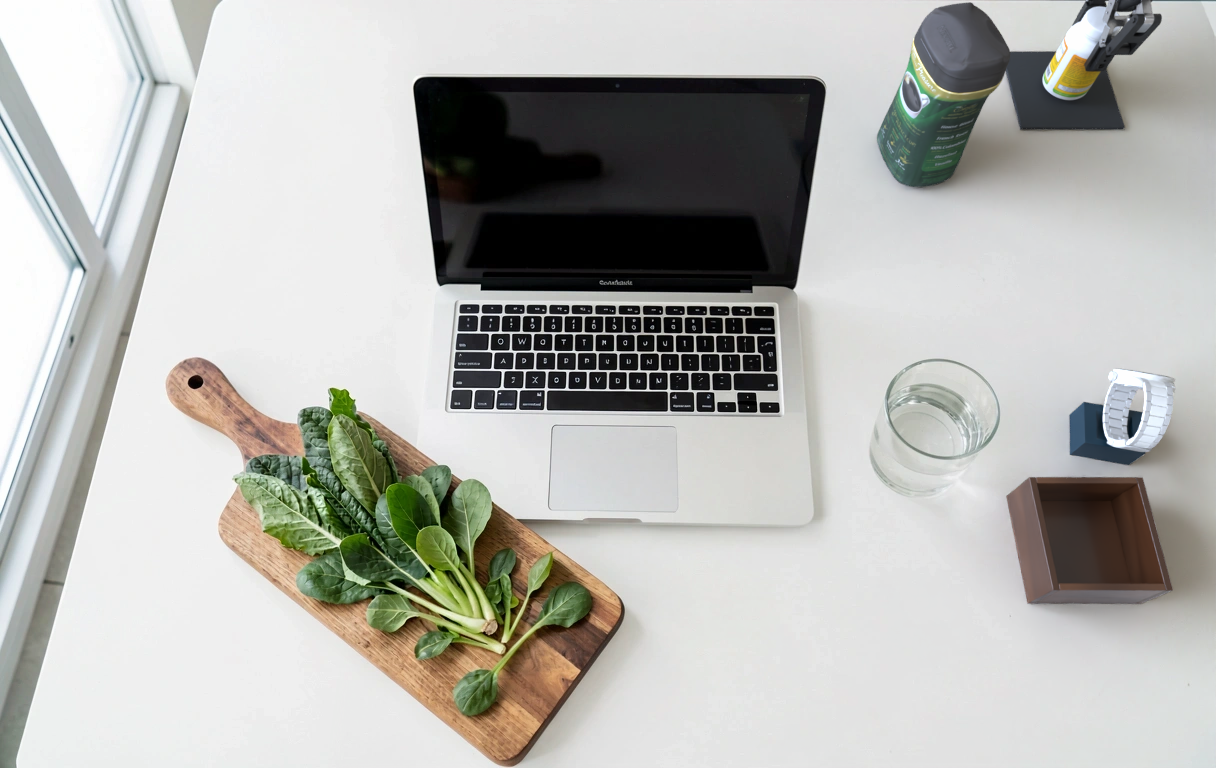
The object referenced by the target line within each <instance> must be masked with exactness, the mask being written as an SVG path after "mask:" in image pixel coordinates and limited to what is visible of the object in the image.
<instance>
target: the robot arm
mask: <svg viewBox="0 0 1216 768" xmlns="http://www.w3.org/2000/svg"><path fill="white" fill-rule="evenodd" d="M1153 1H1154V0H1084V3H1083V5H1082V7H1081V9H1080V10H1079V12H1078V13H1077V15H1076V17H1075V20H1074V21H1073V23H1072V24H1071V27H1072V26H1073V25H1074V24H1076V23H1078V22H1080V21H1081V20H1082V19H1083V17H1084V15H1085V14H1086V12H1087V11H1088V10H1089V9H1091V8H1093V7H1107V8H1106V11H1105V13H1104V16H1103V22H1104V23H1105V27H1104V30H1103V32H1102V35H1101V38H1100V41H1098V43H1097V44H1096V46H1095V47H1094V49H1093V51H1092V52H1091V54H1090V56H1089V57H1088V59H1087V60H1086V62H1085V64H1084V67H1085V70H1086V71H1088V72H1099V71H1104V70H1105V69H1107V68H1109V66H1110V64H1111V63H1112V61H1113V59H1114V58H1115V57H1116V56H1132V55H1133V54H1135V52H1136V51H1137V50H1138V49H1139V48H1140V47H1141V46H1142V45H1143V44H1144V43H1145V42H1146V40H1147V39H1148V38H1149V37H1150V36H1151V35H1152V34H1153V33H1154V32H1155V30H1156V29H1157V28H1158V27H1159V26H1160V25H1161V24H1162V21H1163V20H1162V19H1163V16H1162V14H1161V13H1153V7H1152V2H1153ZM1116 12H1117V13H1130V14H1127V15H1120V16H1115V13H1116ZM1115 27H1121V29H1120V30H1119V32H1118V34H1117V35H1112V33H1113V31H1114V28H1115Z"/></svg>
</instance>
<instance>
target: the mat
mask: <svg viewBox="0 0 1216 768" xmlns="http://www.w3.org/2000/svg"><path fill="white" fill-rule="evenodd" d="M1056 51H1057V50H1056ZM1056 51H1051V50H1050V51H1045V50H1044V51H1043V50H1042V51H1040V50H1039V51H1037V50H1036V51H1035V50H1034V51H1031V50H1030V51H1026V50H1025V51H1023V50H1022V51H1019V50H1018V51H1016V50H1015V51H1010V60H1009V63H1008V65H1007V68H1006V71H1005V75H1006V77H1007V78H1006V79H1007V81H1008V86H1009V90H1010V94H1011V99H1012V102H1013V106H1014V110H1015V113H1016V117H1017V122H1018V125H1019V126H1018V127H1019V130H1020V131H1021V130H1024V131H1025V130H1027V131H1029V130H1030V131H1031V130H1032V131H1033V130H1034V131H1035V130H1036V131H1037V130H1038V131H1039V130H1040V131H1041V130H1044V131H1045V130H1051V131H1052V130H1053V131H1054V130H1064V131H1065V130H1067V131H1068V130H1078V131H1079V130H1085V131H1087V130H1088V131H1089V130H1094V131H1095V130H1098V131H1099V130H1100V131H1101V130H1102V131H1103V130H1124V129H1125V127H1126V126H1125V123H1124V120H1123V117H1122V114H1121V111H1120V107H1119V105H1118V101H1117V98H1116V95H1115V91H1114V88H1113V85H1112V82H1111V79H1110V76H1109V73H1108V70H1107V68H1106V69H1105V70H1104V71H1101V72H1100V73H1099V75H1098V76H1097V78H1096V80H1095V81H1094V83H1093V84H1092V86H1091V87H1090V89H1089V90H1088V92H1087V93H1086V94H1085V95H1084V96H1083V97H1081V98H1079V99H1075V100H1064V99H1060V98H1057V97H1055V96H1053V95H1052V94H1050V93H1049V92H1048V91H1047V90H1046V89H1045V87H1044V85H1043V75H1044V73H1045V71H1046V69H1047V67H1048V65H1049V63H1050V62H1051V60H1052V58H1053V57H1054V55H1055V53H1056Z"/></svg>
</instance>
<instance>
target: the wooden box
mask: <svg viewBox="0 0 1216 768" xmlns="http://www.w3.org/2000/svg"><path fill="white" fill-rule="evenodd" d="M1006 502H1007V506H1008V512H1009V517H1010V522H1011V527H1012V531H1013V538H1014V542H1015V549H1016V552H1017V553H1016V554H1017V557H1018V563H1019V569H1020V573H1021V576H1022V583H1023V587H1024V592H1025V598H1026V603H1027V604H1029V605H1030V604H1031V605H1033V604H1034V605H1040V604H1041V605H1141V604H1143V603H1144V604H1145V603H1146V602H1149V601H1151V600H1153V599H1156V598H1158V597H1160V596H1163V595H1165V594H1168V593H1170V592H1173V591H1174V587H1173V585H1172V581H1171V577H1170V573H1169V570H1168V566H1167V562H1166V559H1165V555H1164V552H1163V547H1162V544H1161V540H1160V536H1159V532H1158V529H1157V526H1156V522H1155V518H1154V515H1153V514H1154V513H1153V509H1152V507H1151V503H1150V499H1149V496H1148V492H1147V489H1146V484H1145V480H1144V478H1143V477H1141V476H1140V477H1139V476H1136V477H1135V476H1129V477H1128V476H1127V477H1126V476H1125V477H1124V476H1117V477H1116V476H1113V477H1112V476H1097V477H1096V476H1095V477H1094V476H1038V477H1037V476H1036V477H1035V476H1029V477H1028V478H1026V479H1025V480H1024V481H1023V482H1022V483H1020V484H1019V485H1018V486H1017V487H1015V488H1014V489H1013V490H1011V492H1010V493H1008V494H1007V495H1006Z"/></svg>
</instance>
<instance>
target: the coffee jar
mask: <svg viewBox="0 0 1216 768" xmlns="http://www.w3.org/2000/svg"><path fill="white" fill-rule="evenodd" d="M1010 52H1011V51H1010V48H1009V45H1008V44H1007V42H1006V40H1005V38H1004V36H1003V35H1002V33H1001V32H1000V30H999V29H998V26H997V25H996V23H994V21H993V20H992V18H991V17H990V16H989V14H987V13H986V12H985V11H984V10H983V9H982V8H980V7H978V6H977V5H975V3H973V2H969V1H968V2H959V3H952V4H947V5H942V6H938V7H935V8H934V9H933V10H932V11H930V12H929V13H928V14H927V15H926V16H925V18H923V20H922V22H921V23H920V26H918V29H917V31H916V32H915V34H914V37H913V40H912V43H911V49H910V54H909V60H908V63H907V66H906V69H905V72H904V74H903V77H902V79H901V82H900V84H899V86H898V88H897V91H896V93H895V95H894V97H893V100H892V102H891V104H890V106H889V108H888V109H887V112H886V114H885V116H884V118H883V120H882V122H881V125H880V127H879V129H878V132H877V134H876V144H877V146H878V149H879V152H880V155H881V157H882V159H883V161H884V164H885V165H886V167H887V169H888V170H889V172H890V174H891V175H892V177H893V178H894V179H895V180H896V181H897V182H898V183H900V184H901V185H904V186H907V187H912V188H924V187H925V188H926V187H931V186H935V185H939V184H941V183H945V182H946V181H948V180H949V179H951V178H952V177H953V175H954V174H955V172H956V170H957V168H958V166H959V164H960V162H961V159H962V157H963V154H964V152H965V150H966V147H967V144H968V142H969V139H970V137H971V134H972V131H973V130H974V127H975V125H976V123H977V121H978V118H979V116H980V114H981V112H982V109H983V108H984V105H985V103H986V101H987V100H988V99H989V97H990V95H992V94H993V93H994V92H995V91H996V89H998V87H999V86H1000V85H1001V83H1002V82H1003V79H1004V77H1005V75H1006V68H1007V65H1008V63H1009V60H1010Z"/></svg>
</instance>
